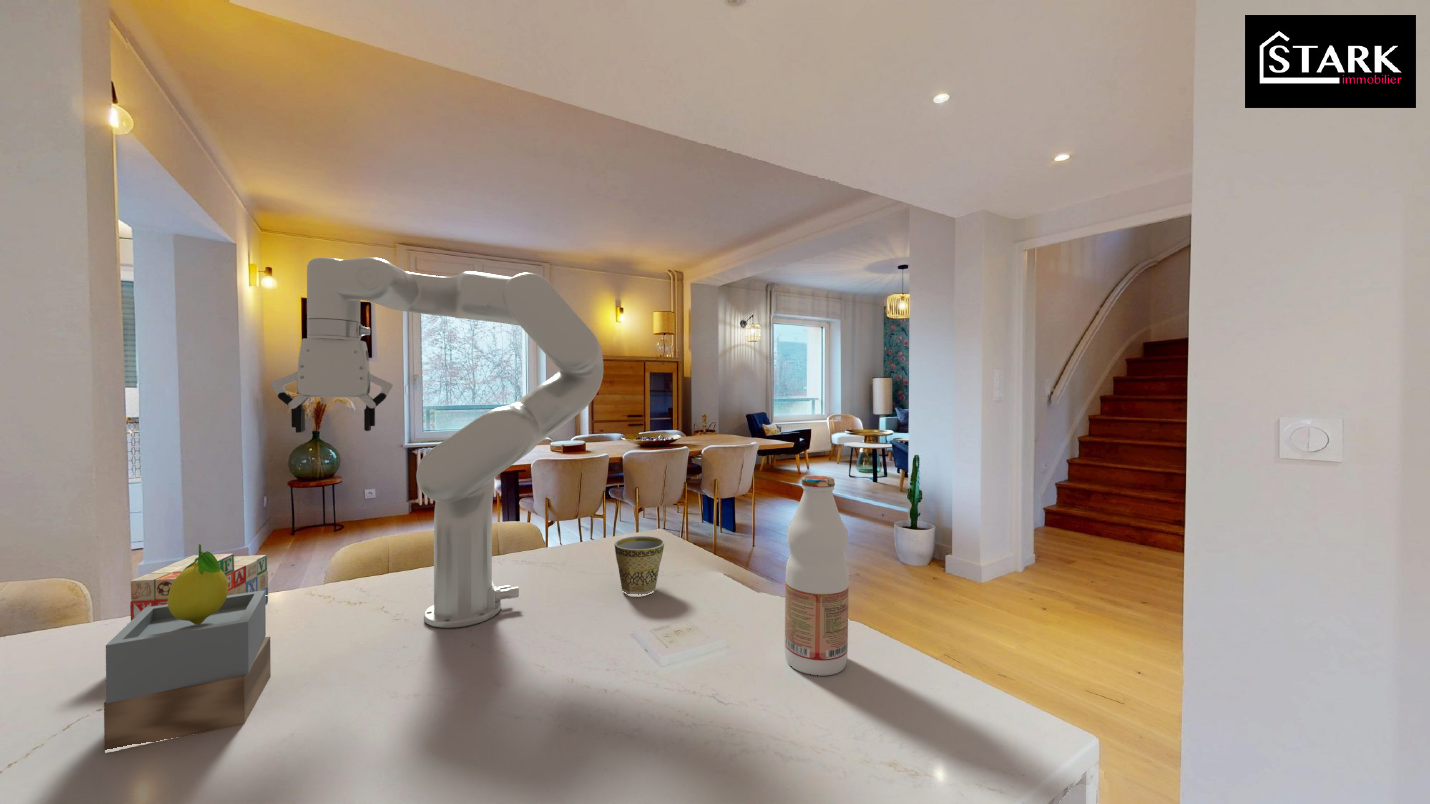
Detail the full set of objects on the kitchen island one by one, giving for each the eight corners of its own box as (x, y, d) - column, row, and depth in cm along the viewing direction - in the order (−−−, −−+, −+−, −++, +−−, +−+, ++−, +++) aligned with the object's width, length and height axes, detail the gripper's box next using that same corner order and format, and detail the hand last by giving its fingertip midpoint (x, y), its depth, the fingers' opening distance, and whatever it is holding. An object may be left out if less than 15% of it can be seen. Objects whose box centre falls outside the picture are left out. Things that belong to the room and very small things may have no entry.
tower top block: (265, 635, 76) (265, 590, 76) (248, 674, 66) (248, 621, 66) (145, 657, 69) (145, 607, 69) (106, 703, 59) (105, 645, 59)
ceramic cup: (660, 601, 104) (661, 550, 104) (609, 600, 104) (609, 549, 104) (667, 578, 117) (668, 532, 117) (622, 577, 117) (622, 531, 117)
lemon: (218, 628, 66) (220, 545, 66) (154, 637, 63) (157, 551, 64) (239, 613, 72) (241, 537, 73) (181, 621, 69) (183, 542, 70)
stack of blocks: (231, 605, 101) (230, 539, 100) (269, 603, 102) (268, 538, 102) (130, 661, 80) (129, 579, 79) (179, 658, 81) (178, 577, 81)
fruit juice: (780, 672, 78) (783, 480, 77) (788, 643, 87) (790, 471, 87) (847, 681, 76) (850, 484, 75) (847, 650, 85) (850, 474, 84)
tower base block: (270, 678, 76) (270, 636, 76) (244, 725, 65) (244, 676, 65) (153, 700, 70) (153, 655, 70) (104, 756, 59) (103, 702, 59)
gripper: (394, 336, 100) (394, 428, 100) (277, 331, 92) (277, 431, 92) (391, 333, 93) (391, 431, 94) (264, 326, 85) (265, 434, 86)
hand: (334, 431), depth 93 cm, fingers open, 9 cm apart
